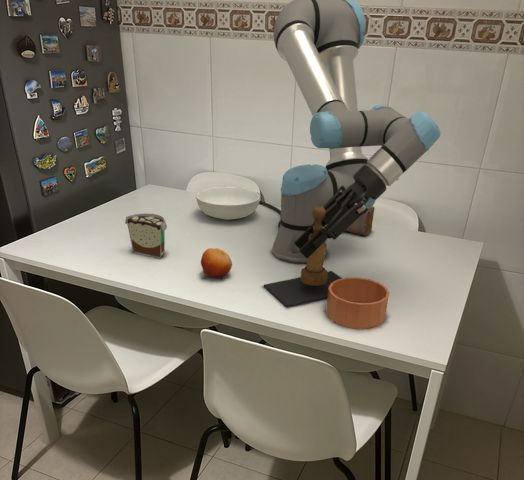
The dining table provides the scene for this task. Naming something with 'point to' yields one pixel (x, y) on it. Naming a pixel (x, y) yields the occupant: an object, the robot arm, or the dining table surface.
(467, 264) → the dining table surface
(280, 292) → the rubber mat
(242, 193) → the serving bowl
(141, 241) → the food container
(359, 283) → the copper pot
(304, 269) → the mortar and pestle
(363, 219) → the food item
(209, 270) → the fruit
